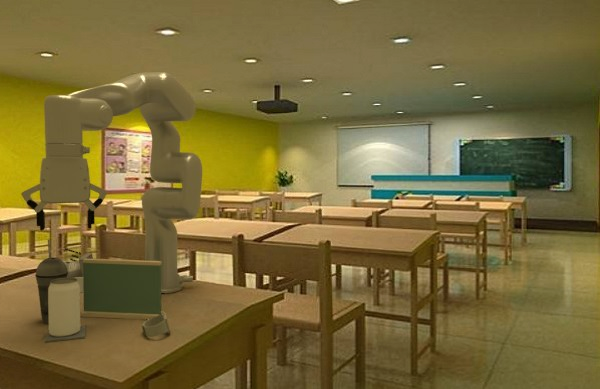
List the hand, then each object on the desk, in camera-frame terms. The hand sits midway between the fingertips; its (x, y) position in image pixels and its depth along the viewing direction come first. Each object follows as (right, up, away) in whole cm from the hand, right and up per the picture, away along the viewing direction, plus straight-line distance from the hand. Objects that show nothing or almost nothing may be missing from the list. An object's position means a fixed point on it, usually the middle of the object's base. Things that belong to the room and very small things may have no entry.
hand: (66, 228), depth 113 cm
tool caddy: (-20, -21, +49) cm, 57 cm away
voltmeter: (-19, -21, +49) cm, 57 cm away
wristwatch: (+19, -25, +3) cm, 31 cm away
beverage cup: (-8, -24, +11) cm, 27 cm away
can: (-1, -24, +1) cm, 24 cm away
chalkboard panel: (+7, -23, +15) cm, 29 cm away
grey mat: (-1, -24, +1) cm, 24 cm away
